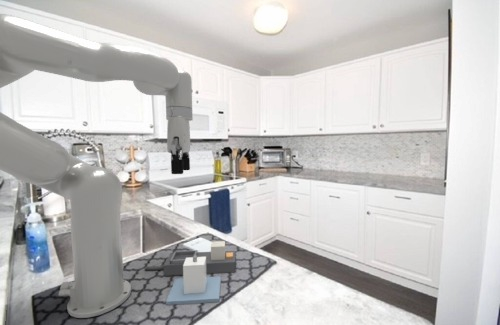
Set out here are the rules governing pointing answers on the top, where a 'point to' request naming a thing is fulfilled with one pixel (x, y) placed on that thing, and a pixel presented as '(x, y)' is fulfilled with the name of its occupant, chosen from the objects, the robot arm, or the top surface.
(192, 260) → the block
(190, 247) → the external hard drive
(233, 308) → the top surface
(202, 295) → the mat
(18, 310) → the top surface
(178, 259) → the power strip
